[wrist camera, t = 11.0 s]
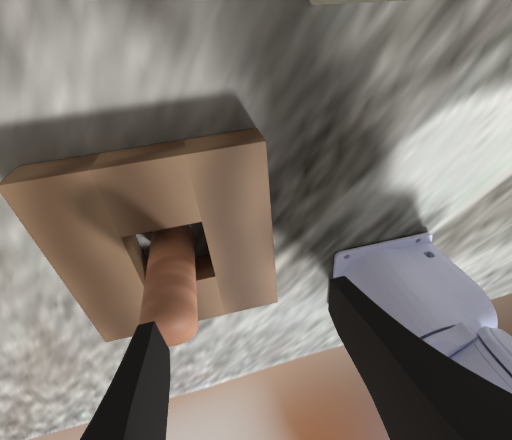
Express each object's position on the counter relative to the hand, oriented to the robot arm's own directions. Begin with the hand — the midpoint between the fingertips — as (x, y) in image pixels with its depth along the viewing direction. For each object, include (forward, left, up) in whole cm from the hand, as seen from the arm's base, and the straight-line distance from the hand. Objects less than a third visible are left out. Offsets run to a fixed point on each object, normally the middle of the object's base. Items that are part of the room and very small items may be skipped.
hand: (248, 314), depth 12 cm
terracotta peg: (+4, +3, -10) cm, 12 cm away
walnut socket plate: (+4, +3, -10) cm, 12 cm away
